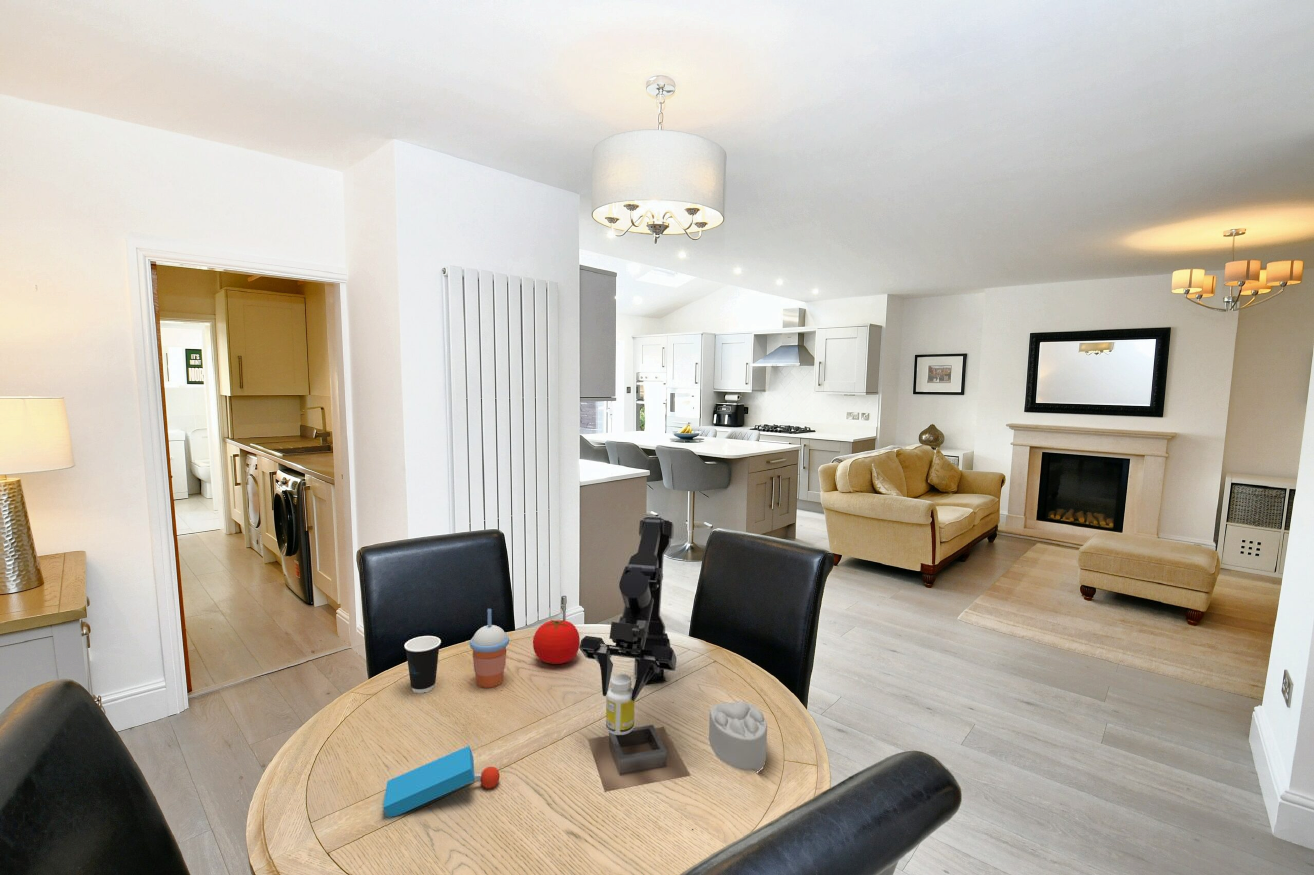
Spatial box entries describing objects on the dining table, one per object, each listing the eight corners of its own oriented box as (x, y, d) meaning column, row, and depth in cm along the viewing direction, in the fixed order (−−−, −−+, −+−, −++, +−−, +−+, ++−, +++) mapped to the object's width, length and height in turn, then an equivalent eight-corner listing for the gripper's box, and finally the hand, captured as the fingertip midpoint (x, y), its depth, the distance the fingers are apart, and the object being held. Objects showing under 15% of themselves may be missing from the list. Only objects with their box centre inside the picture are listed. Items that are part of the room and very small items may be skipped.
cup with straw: (503, 692, 138) (503, 617, 136) (464, 690, 138) (464, 616, 136) (513, 673, 147) (513, 602, 145) (477, 672, 147) (476, 601, 146)
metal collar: (652, 738, 119) (652, 724, 118) (666, 766, 110) (666, 751, 110) (608, 746, 116) (608, 731, 116) (619, 775, 108) (619, 759, 107)
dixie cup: (400, 697, 135) (399, 650, 134) (411, 679, 143) (411, 635, 142) (435, 696, 135) (435, 650, 134) (445, 679, 143) (444, 635, 142)
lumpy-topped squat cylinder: (751, 733, 124) (753, 693, 123) (776, 772, 111) (778, 729, 110) (703, 737, 122) (705, 697, 121) (723, 779, 109) (725, 734, 108)
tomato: (581, 650, 160) (581, 613, 159) (577, 671, 149) (578, 630, 148) (536, 650, 160) (536, 613, 159) (529, 671, 148) (529, 631, 147)
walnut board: (663, 732, 123) (663, 726, 123) (690, 781, 108) (690, 775, 108) (587, 744, 118) (587, 738, 118) (604, 797, 103) (604, 791, 103)
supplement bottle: (636, 721, 116) (637, 673, 115) (630, 737, 110) (632, 687, 109) (609, 717, 116) (610, 670, 115) (602, 734, 111) (603, 684, 110)
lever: (396, 843, 98) (503, 793, 104) (383, 807, 97) (492, 759, 102) (399, 814, 105) (500, 769, 110) (387, 780, 103) (489, 736, 109)
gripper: (582, 596, 117) (560, 676, 108) (674, 607, 112) (659, 692, 103) (596, 619, 125) (576, 695, 116) (682, 630, 121) (668, 710, 111)
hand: (618, 698), depth 111 cm, fingers closed on supplement bottle, 5 cm apart
